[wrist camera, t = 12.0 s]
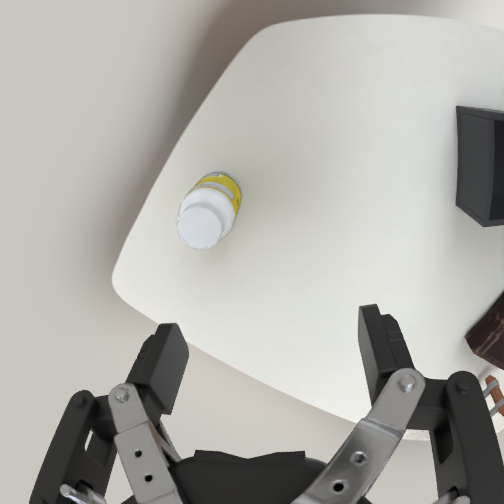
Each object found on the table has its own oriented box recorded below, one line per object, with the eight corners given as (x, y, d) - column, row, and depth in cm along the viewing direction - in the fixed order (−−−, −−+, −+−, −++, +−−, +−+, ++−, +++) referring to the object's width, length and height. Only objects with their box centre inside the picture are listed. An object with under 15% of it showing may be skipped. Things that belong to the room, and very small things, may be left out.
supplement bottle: (225, 224, 36) (207, 268, 27) (187, 198, 35) (157, 234, 26) (252, 189, 33) (241, 223, 25) (212, 161, 32) (187, 186, 24)
